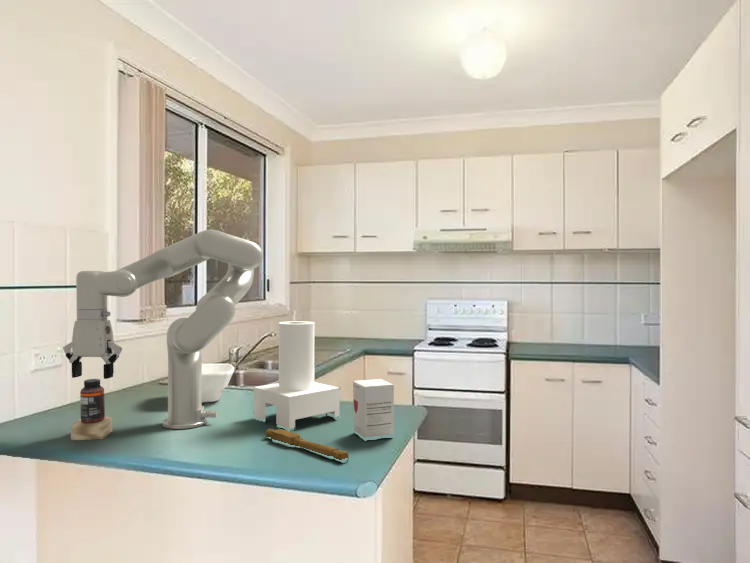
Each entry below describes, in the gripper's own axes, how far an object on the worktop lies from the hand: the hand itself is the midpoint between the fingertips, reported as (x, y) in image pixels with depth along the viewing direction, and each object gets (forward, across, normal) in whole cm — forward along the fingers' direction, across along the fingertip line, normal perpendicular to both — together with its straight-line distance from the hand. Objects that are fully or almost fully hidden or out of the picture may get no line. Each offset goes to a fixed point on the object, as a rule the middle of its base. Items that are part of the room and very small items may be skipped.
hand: (92, 377), depth 152 cm
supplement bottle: (+12, 0, 0) cm, 12 cm away
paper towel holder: (+17, -50, -27) cm, 59 cm away
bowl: (+17, -10, -44) cm, 48 cm away
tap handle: (+17, -61, +1) cm, 63 cm away
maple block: (+16, 0, 0) cm, 16 cm away
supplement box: (+17, -76, -14) cm, 79 cm away
